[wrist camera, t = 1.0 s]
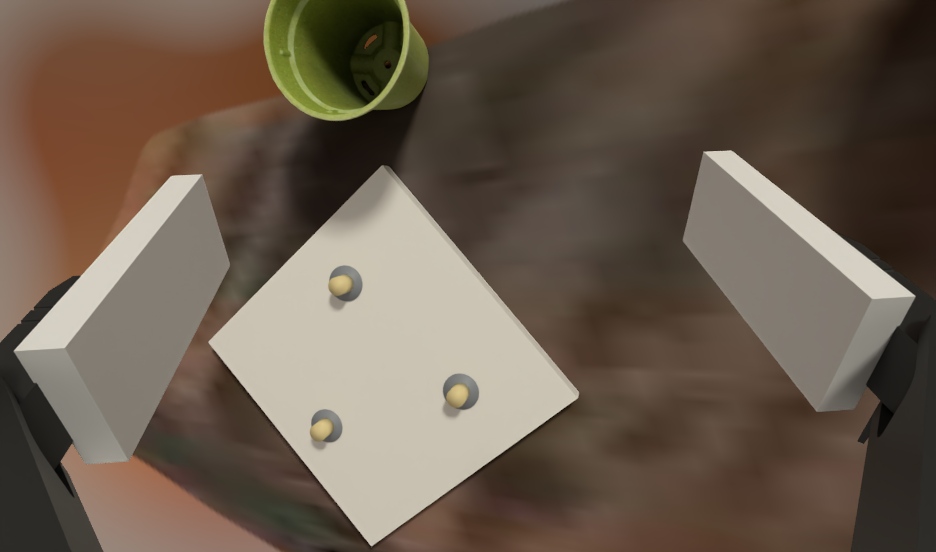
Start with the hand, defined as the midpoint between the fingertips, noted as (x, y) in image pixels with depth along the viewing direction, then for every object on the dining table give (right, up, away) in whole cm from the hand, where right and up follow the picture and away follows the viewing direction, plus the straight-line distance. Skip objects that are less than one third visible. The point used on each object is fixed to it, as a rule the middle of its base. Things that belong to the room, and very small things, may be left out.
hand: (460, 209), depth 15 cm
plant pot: (-5, +13, +26) cm, 30 cm away
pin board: (-7, -9, +29) cm, 31 cm away
